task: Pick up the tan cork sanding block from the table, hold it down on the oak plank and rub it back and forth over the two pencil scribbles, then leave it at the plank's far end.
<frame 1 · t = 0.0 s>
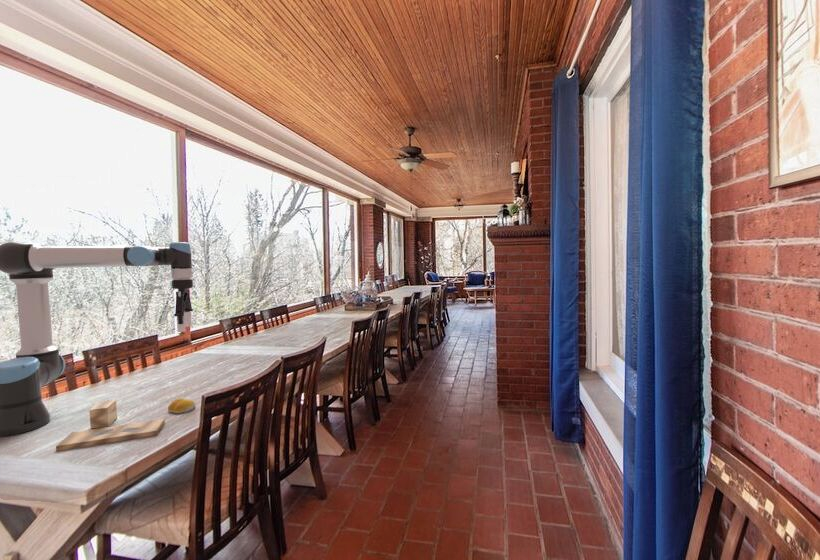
hand: (185, 329, 160), 28 cm above the table, fingers open, 13 cm apart
sanding block: (104, 424, 133), on the table
bread roll: (181, 410, 145), on the table
oak plank: (114, 435, 124), on the table
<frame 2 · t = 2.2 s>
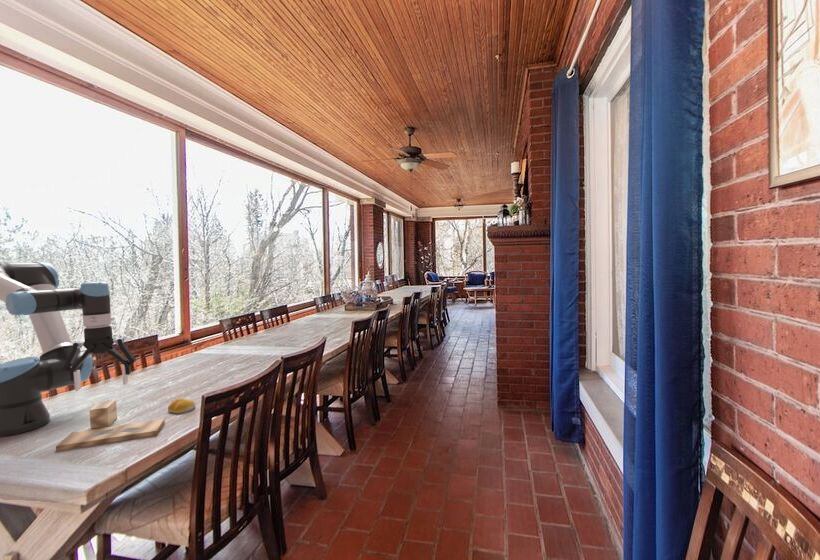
hand: (102, 386, 132), 13 cm above the table, fingers open, 13 cm apart
nothing on the table moved.
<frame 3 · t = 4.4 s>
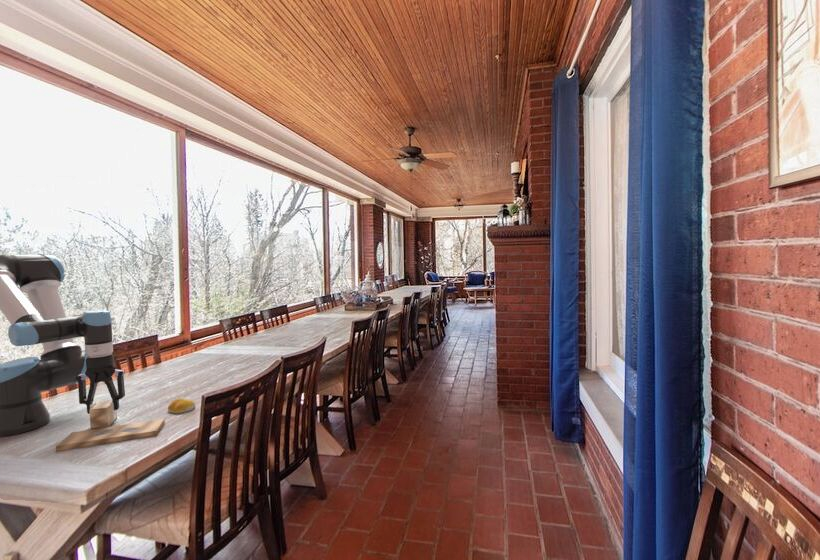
hand: (104, 420, 133), 1 cm above the table, fingers closed on sanding block, 5 cm apart
sanding block: (104, 424, 133), on the table, touching gripper
everything else where it was.
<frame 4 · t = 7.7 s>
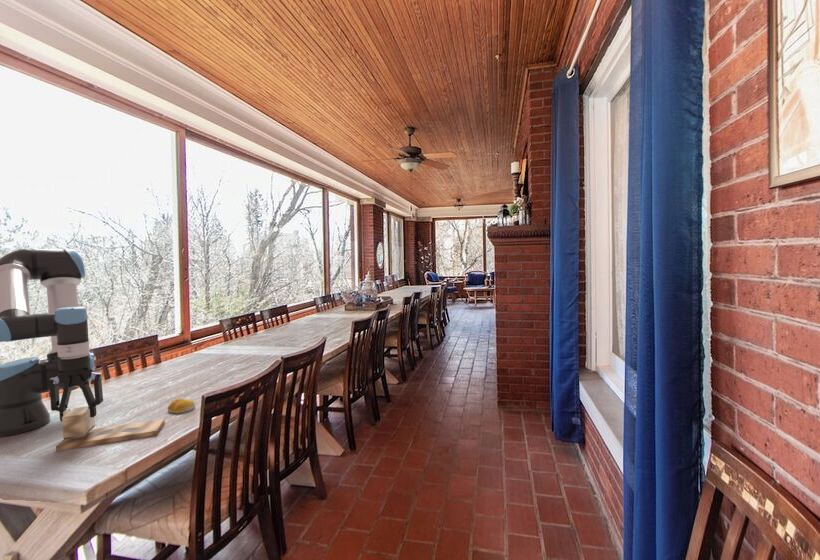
hand: (79, 428, 120), 4 cm above the table, fingers closed on sanding block, 5 cm apart
sanding block: (79, 432, 120), point 3 cm above the table, touching gripper
everything else where it was.
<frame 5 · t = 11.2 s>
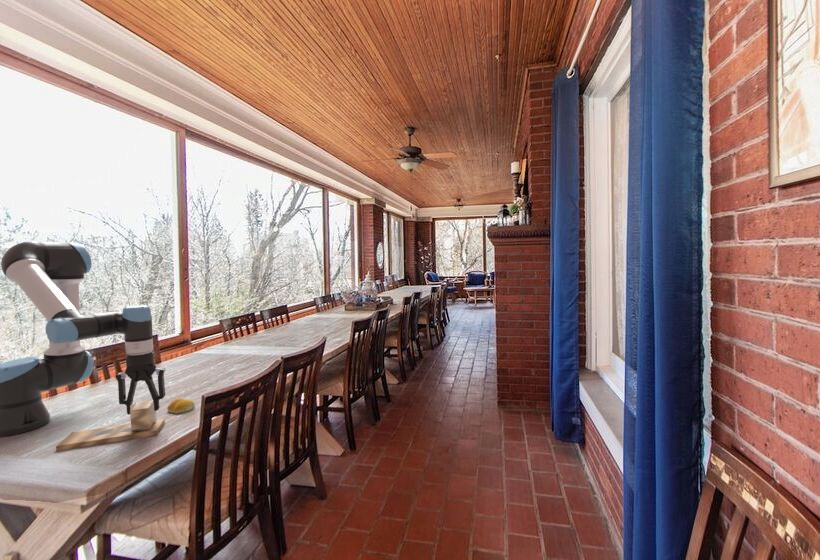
hand: (144, 421, 126), 3 cm above the table, fingers closed on sanding block, 5 cm apart
sanding block: (144, 425, 126), point 2 cm above the table, touching gripper
everything else where it was.
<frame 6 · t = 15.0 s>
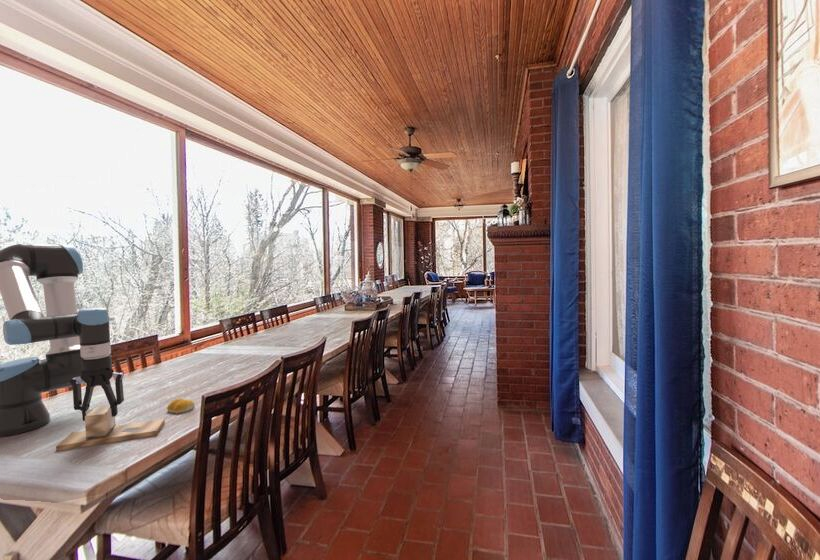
hand: (101, 427, 122), 3 cm above the table, fingers closed on sanding block, 5 cm apart
sanding block: (101, 431, 122), point 2 cm above the table, touching gripper
everything else where it was.
when the fingers open (3 cm above the table, at t = 18.1 s): sanding block stays where it is, resting on oak plank.
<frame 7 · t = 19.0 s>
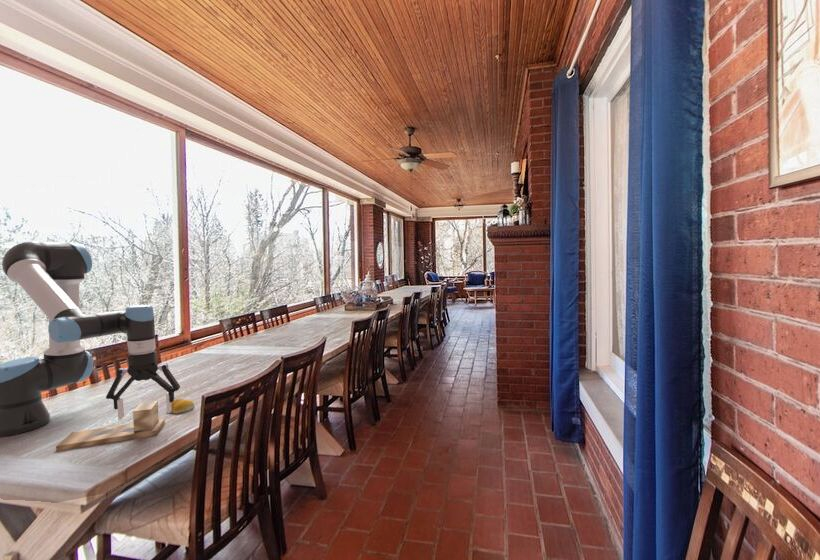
hand: (145, 414, 127), 5 cm above the table, fingers open, 13 cm apart
sanding block: (146, 426, 127), point 2 cm above the table, touching oak plank
everything else where it was.
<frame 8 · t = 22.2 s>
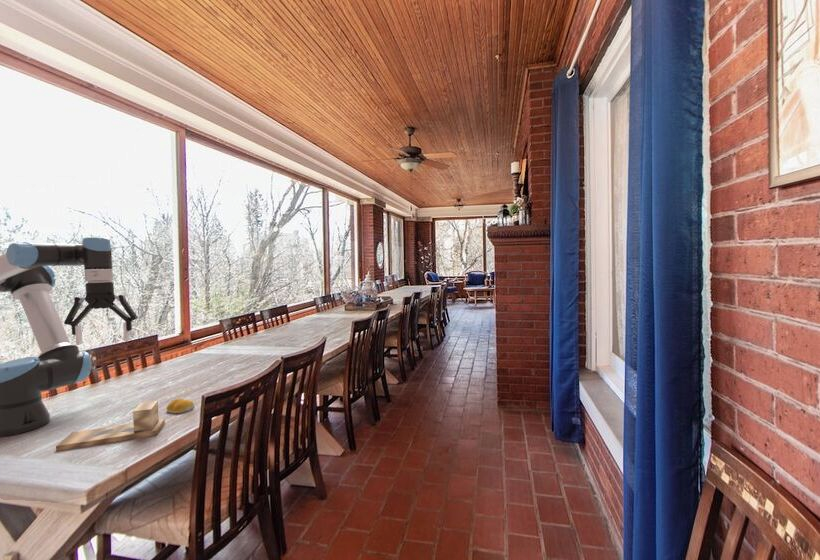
hand: (103, 342, 133), 29 cm above the table, fingers open, 13 cm apart
nothing on the table moved.
at the end: sanding block inside the target area on the oak plank (0.2 cm from its centre), point 1.5 cm above the oak plank's base; sanding block tilted 1°; the gripper is holding nothing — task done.
